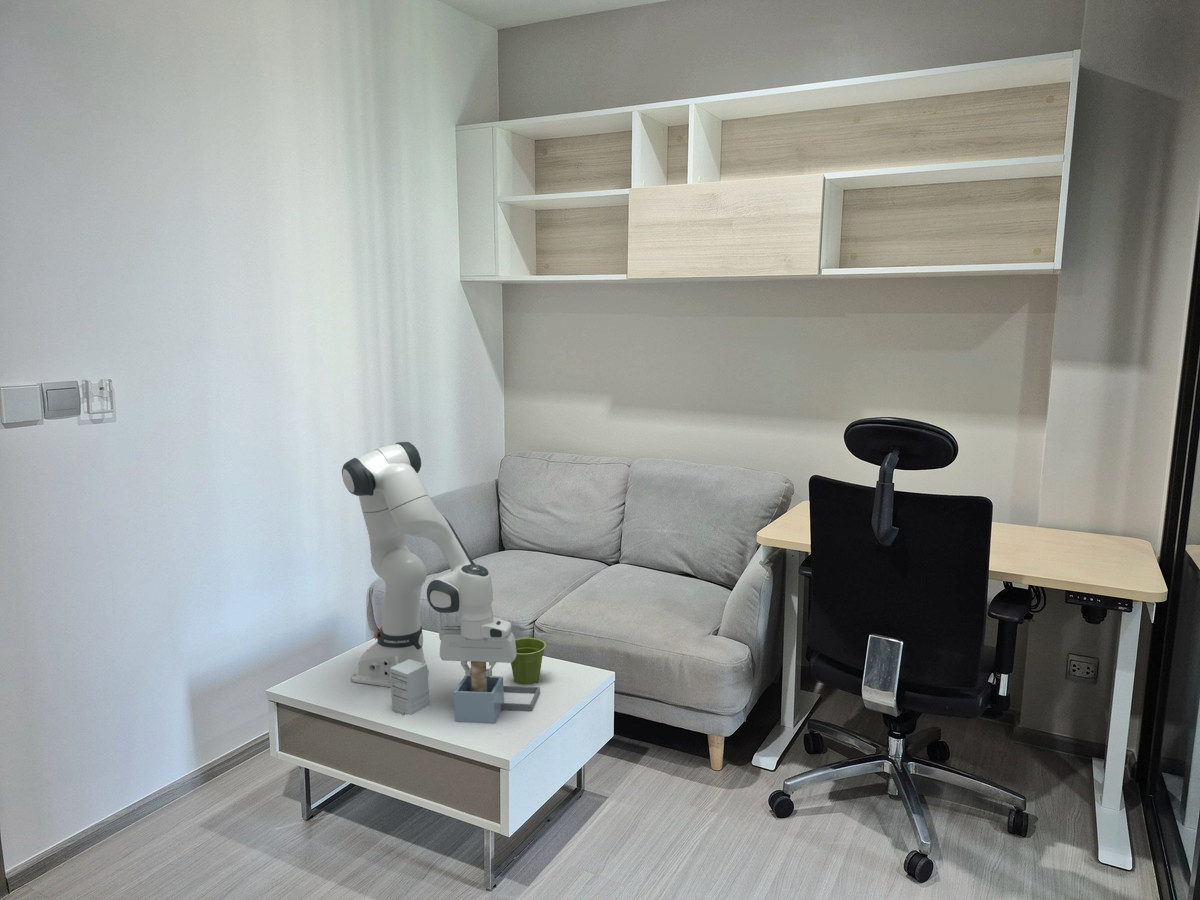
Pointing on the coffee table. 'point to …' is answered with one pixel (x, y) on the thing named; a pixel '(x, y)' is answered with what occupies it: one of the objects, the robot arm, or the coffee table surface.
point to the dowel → (478, 677)
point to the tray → (521, 690)
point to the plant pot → (528, 660)
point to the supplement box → (409, 687)
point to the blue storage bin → (479, 701)
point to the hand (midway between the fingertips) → (478, 676)
